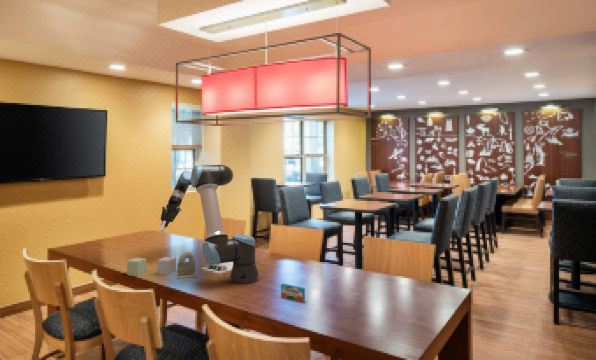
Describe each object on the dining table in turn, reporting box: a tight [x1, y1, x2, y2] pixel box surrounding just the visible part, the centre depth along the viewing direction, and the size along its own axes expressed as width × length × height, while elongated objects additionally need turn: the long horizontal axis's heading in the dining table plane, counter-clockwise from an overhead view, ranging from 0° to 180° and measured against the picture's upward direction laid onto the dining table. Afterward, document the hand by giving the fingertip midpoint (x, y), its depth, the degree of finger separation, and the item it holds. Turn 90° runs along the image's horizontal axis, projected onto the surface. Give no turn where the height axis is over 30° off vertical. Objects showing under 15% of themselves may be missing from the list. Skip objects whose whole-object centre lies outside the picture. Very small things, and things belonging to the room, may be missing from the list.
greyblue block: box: [157, 256, 177, 276], centre depth 227 cm, size 7×7×8 cm
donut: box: [178, 251, 196, 263], centre depth 234 cm, size 10×4×10 cm, turn 134°
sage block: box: [126, 257, 148, 277], centre depth 225 cm, size 7×7×8 cm
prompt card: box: [176, 260, 198, 280], centre depth 220 cm, size 4×10×8 cm, turn 109°
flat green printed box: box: [280, 283, 306, 303], centre depth 186 cm, size 12×2×6 cm, turn 57°
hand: (161, 231), depth 243 cm, fingers closed
